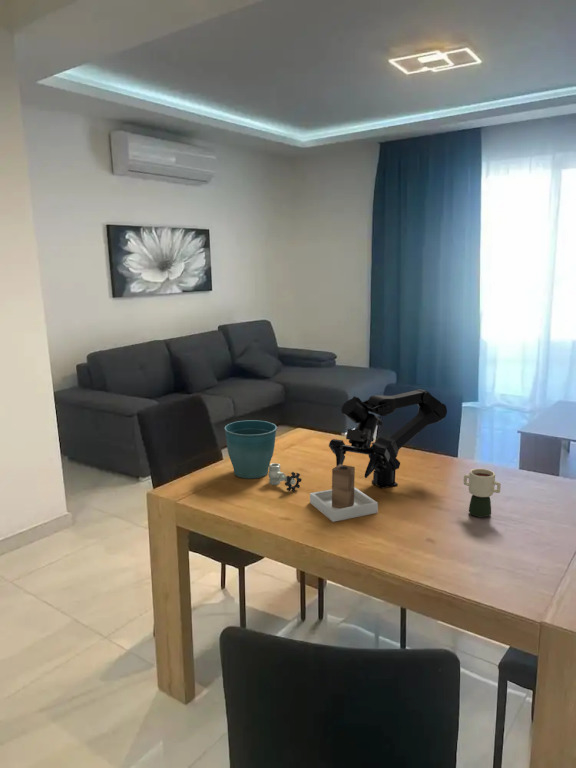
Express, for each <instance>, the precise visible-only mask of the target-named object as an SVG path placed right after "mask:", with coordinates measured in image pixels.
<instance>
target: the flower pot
mask: <svg viewBox="0 0 576 768" xmlns="http://www.w3.org/2000/svg"><path fill="white" fill-rule="evenodd" d="M277 429H278V426H277V425H276V424H275V423H272V422H269V421H265V420H257V419H256V420H255V419H253V420H252V419H251V420H248V419H247V420H246V419H245V420H239V421H234V422H231V423H227V425H225V426H224V431H225V437H226V438H225V440H226V442H225V443H226V449H227V453H228V456H229V459H230V463H231V465H232V468H233V474H234V475H235V476H236V477H238V478H241V479H259V478H262V477H265V476H266V475H267V474H269V465H270V464H271V460H272V458H273V456H274V452H275V446H276V445H275V444H276V437H277V436H276V435H277Z"/></svg>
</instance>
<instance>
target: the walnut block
mask: <svg viewBox="0 0 576 768" xmlns="http://www.w3.org/2000/svg"><path fill="white" fill-rule="evenodd" d="M355 470H356V469H355V466H352V465H346V464H339V465H338V466H335V467H333V468H332V470H331V473H332V474H331V484H332V485H331V489H332V507H334V508H339V509H341V508H346V507H351V506H353V505H354V487H355V475H356V474H355Z"/></svg>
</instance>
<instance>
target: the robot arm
mask: <svg viewBox="0 0 576 768" xmlns="http://www.w3.org/2000/svg"><path fill="white" fill-rule="evenodd" d="M414 405H417V406H418V410H417V414H416V415H415V416H413V418H411V419H410V420H408V422H406V424H405V425H403V426H401V428H400V429H398V430H397V431H395V432H394V433H393V434H392V435H391V436H390V437H389V438H384V437H381V436H380V437H378V438H377V439H376V440H375V439H374V436H375V431H376V428H377V426H382V425H383V422H382V420H381V418H380V416H381V417H387V416H388V415H391V414H393V413H394V412H395V410H397V409H401V408H404V407H408V406H414ZM447 409H448V408H447V405H446V404H445V403H442V402H441V401H440V400H438V399H437V398H436V397H434V396H433V395H432V394H431V393H430V392H429V391H428V390H424V389H420V388H417V389H415V390H412V391H407V392H402V393H398V394H393V395H382V394H380V395H378V394H377V395H371V396H370V397H369V398H368V399H366V400H364V401H362V400H361V399H360V398H359V397H358V396H355V395H354V396H353V397H352V398H351V399H349V400H346V402H344V403H343V404H342V407H341V413H342V414H343V415H344V416H345V417H347V418H348V420H350V421H351V422H352V423H354V424H357V427H356V428H354V429H353V428H352V429H351V428H348V429H347V430H346V437H345V439H346V440H348V443H349V444H351V445H349V444H345V441H344V440H342V439H336V438H332V439H331V440H330V441H329V443H328V447H329V449H330V450H331V452H332V454H334V455H335V463H336V466H338V465H339V464H342V465H344V462H345V459H346V455H345V454H346V453H347V452H350V453H356V454H361V455H368V458H369V461H368V464H367V466H366V469H365V472H364V478H365V479H367V478H368V477H369V476H370V475H371V474H372V473H373V474H372V475H373V479H372V480H371V483H372V484H374V485H376V486H377V487H379V488H381V489H386V488H391V487H395V486H398V485H399V484H398V483H397V482H396V470H399V469H400V466H401V462H400V461H399V459H398V458H397V457H398V455H399V451H400V449H401V448H402V447H404V445H406V444H408V442H409V441H411V440H412V439H413V438H414V437H416V436H417V435H418V434H419V433H420V432H421V431H423V430H424V429H425V428H426V427H427V426H429V425H433V424H436V423H439V422H440V421H442V420H444V419H445V418H446V417H447V412H448V410H447ZM376 415H378V416H376ZM374 440H375V441H374ZM336 466H335V467H336Z"/></svg>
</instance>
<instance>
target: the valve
mask: <svg viewBox="0 0 576 768" xmlns="http://www.w3.org/2000/svg"><path fill="white" fill-rule="evenodd" d="M267 474H268V478H269V480H268V482H269V485H270V486H271V485H272V486H279V485H280V484H281V482H283V481H284V486H286V487H287V488H286V491H288V492H290V491H291V492H293V493H295V492H296V489H300V488H301V485H300V484H299V483H301V482H302V481H303V479H302V478H300V476H301V474H300V473H299V472H294V471H292V472H290V474H291V475H290V476H289V475H287V476H286V474H285V472H283V471H282V472H281V464H280V463H276V462H275V463H274V462H273V463H270V464H269V467H268V473H267Z"/></svg>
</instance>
